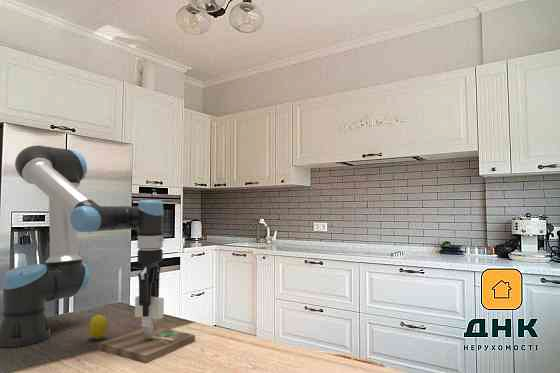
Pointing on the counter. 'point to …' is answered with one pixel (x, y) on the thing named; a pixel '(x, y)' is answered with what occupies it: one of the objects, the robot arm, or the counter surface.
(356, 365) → the counter surface
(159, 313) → the white stand
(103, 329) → the lemon
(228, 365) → the counter surface
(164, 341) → the wooden cutting board
